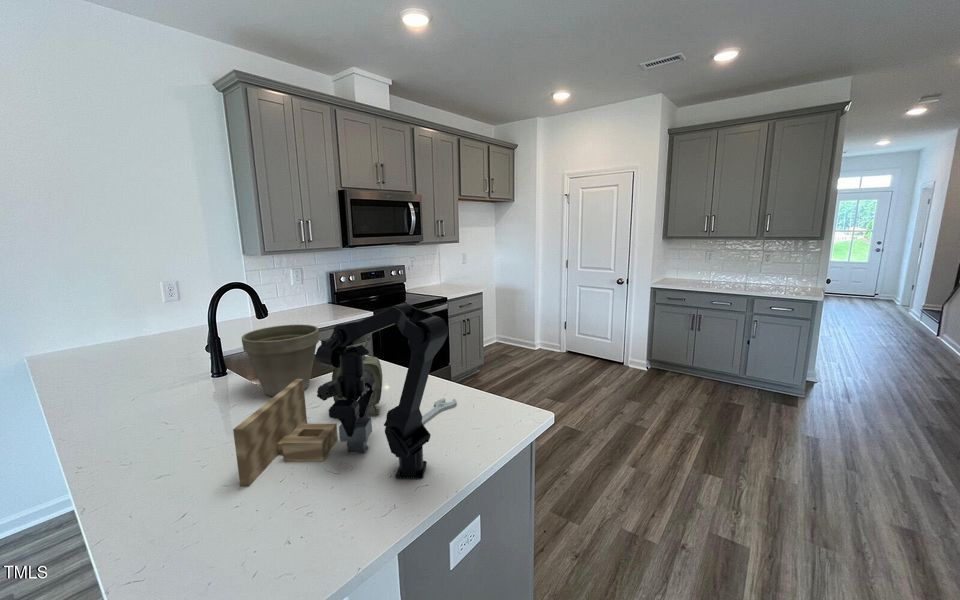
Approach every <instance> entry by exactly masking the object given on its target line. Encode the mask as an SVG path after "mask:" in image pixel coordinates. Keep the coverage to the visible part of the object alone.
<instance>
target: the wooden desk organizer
mask: <svg viewBox="0 0 960 600" xmlns="http://www.w3.org/2000/svg"><path fill="white" fill-rule="evenodd" d="M305 396H306V395H305V390H304V383H303V379H296V380H294V381H293V382H292V383H291V384H289V385H288V386H287V387H286V388H284V389H283V390H282V391H281V392H279V393H278V394H277V395H276V396H272V398H271V399H270V400H268V401H267V402H266V403H264V404H263V405H262V406H260V408H258V409H256V410H255V411H254V412H253V413H252V414H250V415H249V416H248V417H247V418H245V419H244V420H243V421H241V423H239V424H238V425H237V426H235V427H234V428H233V429H232V431H233V438H234V446H235V447H234V448H235V455H236V456H235V457H236V462H237V463H236V464H237V471H238V472H237V473H238V479H239V480H238V481H239V486H240V487H250V486H251V485H252V484H253V482H254V481H256V479H257V478H258V477H259V476H260V475H261V474H262V473H263V472H264V471H265V470H266V469H267V468H268V466H269V465H270V464H271V463H272V462H273V461H274V460H275V458H276V457H278V456H279V455H282V457H283V461H284V462H324V461H325V459H326V458H327V457H328V455H329V454H330V452H331V451H332V450H333V448H334V446H335V445H336V444H337V442H338V440H339V438H338V425H337V424H338V423H308V418H307V417H308V415H307V407H306V406H307V405H306V397H305Z"/></svg>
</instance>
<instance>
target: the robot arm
mask: <svg viewBox="0 0 960 600" xmlns="http://www.w3.org/2000/svg"><path fill="white" fill-rule="evenodd" d="M393 325H395V326H397V328H398V330H399V331H400V333H401V335H402V336H404V337H406V338H407V341H408V347H409V350H410V353H411V357H410V360H409V363H408V364H409V365H408V367H407V371H406V377H405V379H404V383H403V387H402V392H401V395H400V398H399V403H398V405H395V407H393V408H391V409H389V410H388V411H387V413H386V417H385V418H386V420H385V422H384V424H383V426H384V434H385V438H386V441H387V444H388V446H389V449H390V453H391V454H393V455H394V456H395V457H396V458H398V467H397V470H396V473H395V474H394V475H395V476H394V477H395V479H423V478H424V476H425V475H424V474H425V471H426V469H427V468H426V467H427V463H428V462H427V461H426V460H424V452H423V451H424V449H423V448H424V447H423V446H424V445H425V444H427V443H428V442H430V438H431V433H430V432H429V431H428V430H427V428H426V426H425V424H424V425H423V424H422V416H423V415H422V413H421V410H420V409H421V404H422V400H423V397H424V396H423V395H424V392H425V389H426V385H427V382H428V378H429V376H430V371H431V368H432V364H433V360H434V357H436V354H438V352H439V351H440V350H441V348H442V347H443V345H444V343H445V342H446V340H447V337H448V335H449V326H448V325H447V322H446V321H445V320H444V319H443V318H442V317H440V316H438V315H434V314H433V313H431V312H429V311H426V310H422V309H420V308H417V307H415V306H413V305H412V304H410V303H407V302H404V303H399V304H396V305H392V306H391V307H390V308H387V309H386V310H382V311H381V312H378V313H376V314H373V315H371V316H368V317H366V318H362V319H361V318H360V319H355V320H351V321H348V322H343V323H340V324H337V325H335V326H334V327H333V332H332V334H331V336H330V338H326V339H322V340H320V345H319V346H318V348H316V351H315V355H314V358H315V360H316V362H317V363H318V364H320V365H323V366H327V367H331V368H339V367H340V374H341V375H340V376H339V377H338V378H337V379H335V380H332V379H331V380H330V381H327V382H324V383H323V384H321V385H319V386H318V388H317V390H316V393H317V394H316V397H317V398H318V399H320V400H322V401H324V402H325V401H326V400H328V399H330V398H333V396H336V395H337V398H342V397H345V398H346V399H347V400H337V401H336V402H334V403H333V404H332V405H331V406H330V408H329V409H328V417H329V418H330V419H335V420H339V421H340V424H341V423H342V425H343V427H344V429H345V431H346V434H347V436H348V437H352V436H353V433H354V430H355V426H356V423H357V419H358V418H365V416H366V413H367V411H368V408H369V407H368V405H369V403H370V400H371V397H372V395H373V393H374V389H375V381H374V380H373V379H372V378H364V377H365V376H366V375H367V373H366V371H364V364H363V356H364V355H365V356H367V355H368V354H370V351H369V350H368V349H367V348H366V347H365V348H364V345H363V344H360V345H357V347H354V346H355V344H359V343H362V342H365V341H364V340H365V339H366V340H367V339H368V338H369V337H371V335H372V334H374V333H375V332H378V331H381V330H383V329H385V328H388V327H391V326H393ZM369 388H370V390H369Z"/></svg>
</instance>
